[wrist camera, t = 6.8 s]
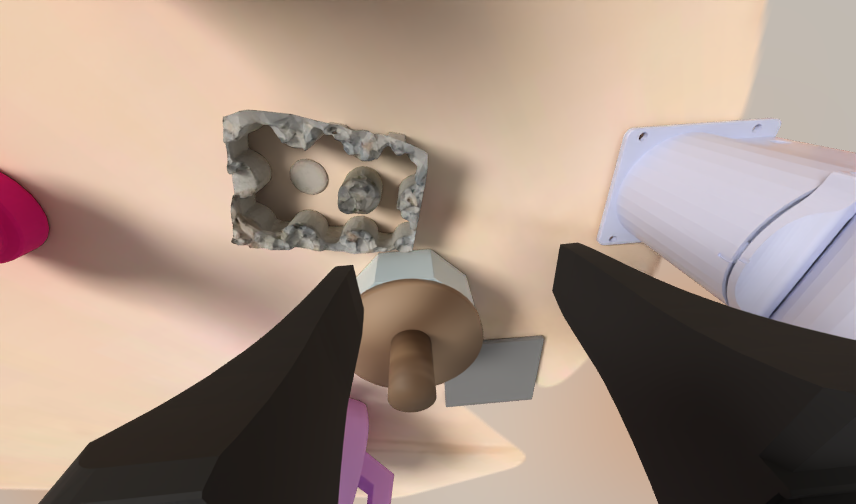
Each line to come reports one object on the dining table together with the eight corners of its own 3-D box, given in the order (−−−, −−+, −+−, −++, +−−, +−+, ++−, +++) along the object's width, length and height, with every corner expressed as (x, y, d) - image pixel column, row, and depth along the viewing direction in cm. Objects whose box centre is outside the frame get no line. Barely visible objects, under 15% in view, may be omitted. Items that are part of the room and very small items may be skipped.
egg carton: (252, 216, 20) (220, 247, 17) (243, 92, 17) (200, 99, 13) (409, 242, 22) (409, 275, 19) (433, 135, 18) (439, 152, 15)
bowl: (466, 246, 22) (475, 274, 19) (465, 334, 27) (472, 367, 24) (342, 256, 22) (332, 285, 19) (362, 342, 27) (357, 377, 24)
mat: (542, 335, 28) (544, 338, 27) (530, 395, 32) (531, 399, 32) (443, 344, 27) (443, 347, 27) (445, 403, 32) (446, 407, 32)
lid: (505, 299, 21) (529, 356, 16) (450, 389, 25) (458, 451, 21) (357, 261, 18) (343, 318, 14) (327, 368, 23) (309, 433, 19)
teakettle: (405, 434, 35) (404, 593, 25) (285, 475, 38) (239, 631, 28) (310, 345, 27) (248, 527, 16) (168, 407, 30) (39, 592, 19)
